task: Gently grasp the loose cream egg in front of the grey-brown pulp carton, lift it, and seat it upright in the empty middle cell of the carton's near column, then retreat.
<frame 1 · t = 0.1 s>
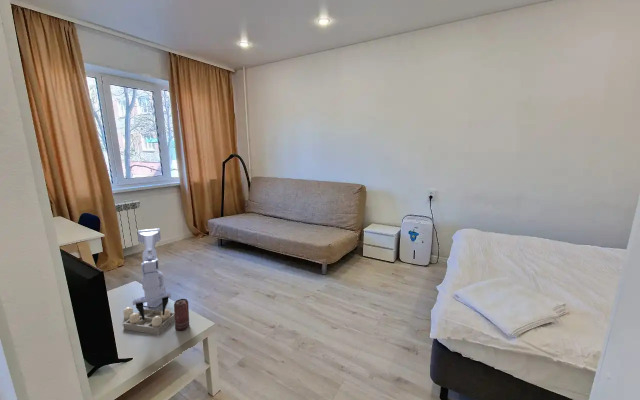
hand: (153, 316, 121), 11 cm above the table, tool pointing down, fingers open, 7 cm apart
can: (182, 328, 130), on the table
carton: (150, 323, 132), on the table
egg: (128, 317, 136), on the table
egg d: (165, 319, 134), point 1 cm above the table, touching carton
egg b: (135, 323, 130), point 1 cm above the table, touching carton
egg c: (157, 327, 128), point 1 cm above the table, touching carton
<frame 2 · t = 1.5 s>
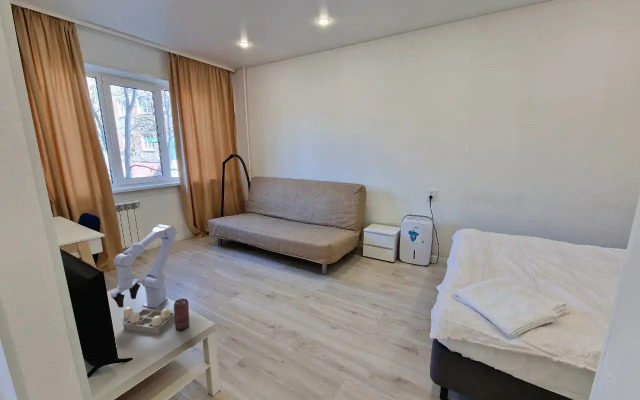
hand: (127, 302, 134), 8 cm above the table, tool pointing down, fingers open, 7 cm apart
nothing on the table moved.
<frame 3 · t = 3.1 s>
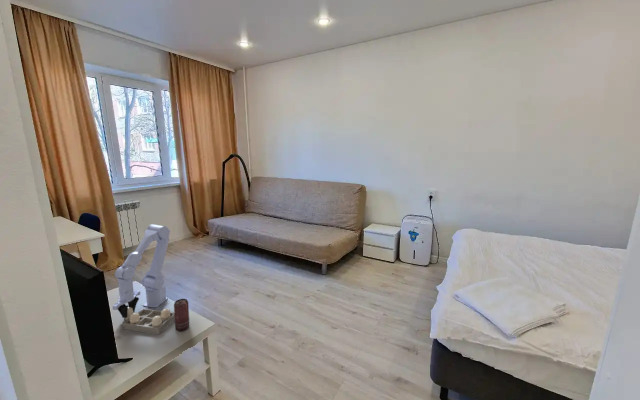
hand: (128, 314, 136), 2 cm above the table, tool pointing down, fingers closed on egg, 4 cm apart
egg: (128, 317, 136), on the table, touching gripper
everything else where it was.
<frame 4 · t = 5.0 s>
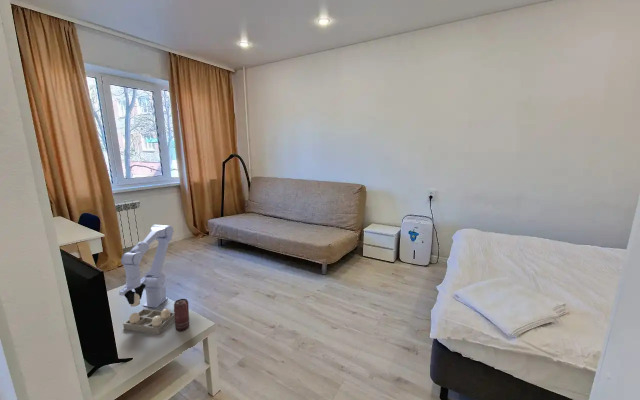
hand: (135, 301, 134), 9 cm above the table, tool pointing down, fingers closed on egg, 4 cm apart
egg: (135, 304, 134), point 8 cm above the table, touching gripper
everything else where it was.
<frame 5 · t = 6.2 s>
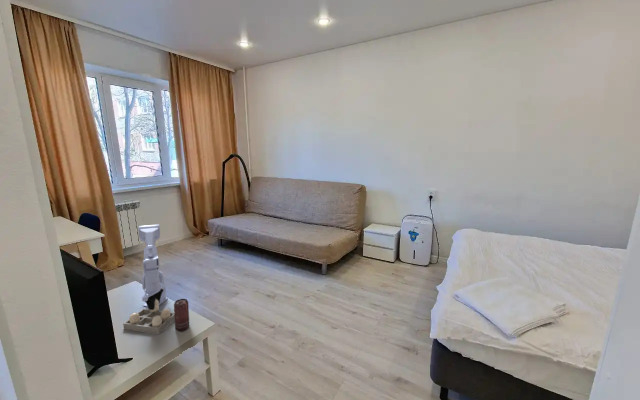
hand: (154, 306, 134), 7 cm above the table, tool pointing down, fingers closed on egg, 4 cm apart
egg: (154, 309, 134), point 6 cm above the table, touching gripper
everything else where it was.
when the fingers open (4 cm above the table, at t = 7.2 s): egg stays where it is, resting on carton.
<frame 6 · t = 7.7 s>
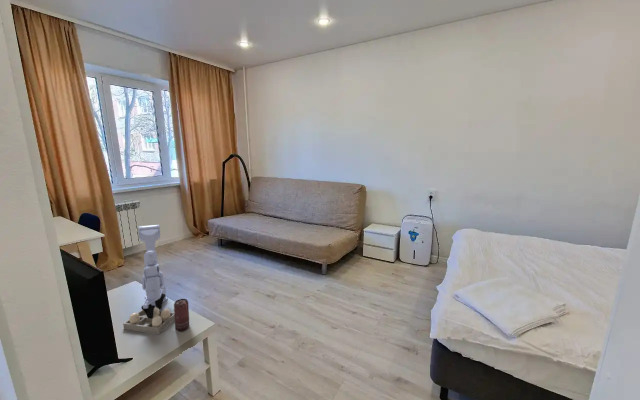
hand: (154, 313, 135), 4 cm above the table, tool pointing down, fingers open, 7 cm apart
egg: (155, 318, 135), point 1 cm above the table, touching carton
everything else where it was.
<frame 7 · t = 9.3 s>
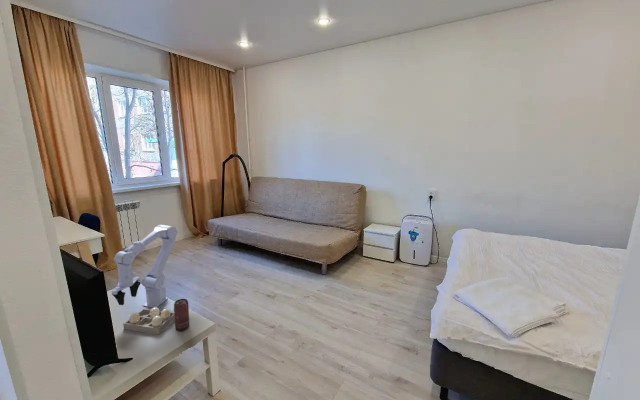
hand: (127, 300, 134), 9 cm above the table, tool pointing down, fingers open, 7 cm apart
nothing on the table moved.
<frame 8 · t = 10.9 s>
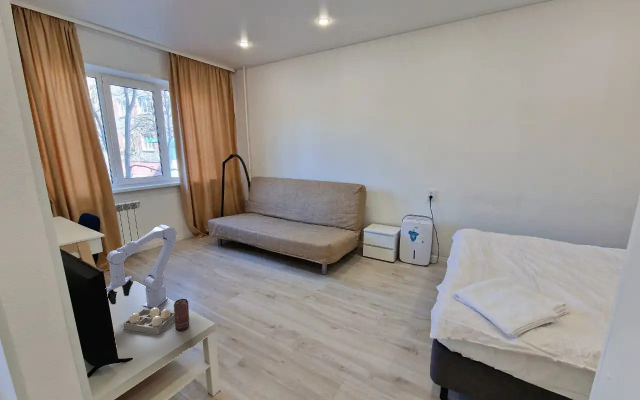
hand: (120, 299, 135), 9 cm above the table, tool pointing down, fingers open, 7 cm apart
nothing on the table moved.
at the end: egg 0.0 cm from the target spot on the carton, point 1.0 cm above the carton's base; egg tilted 0°; the gripper is holding nothing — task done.
